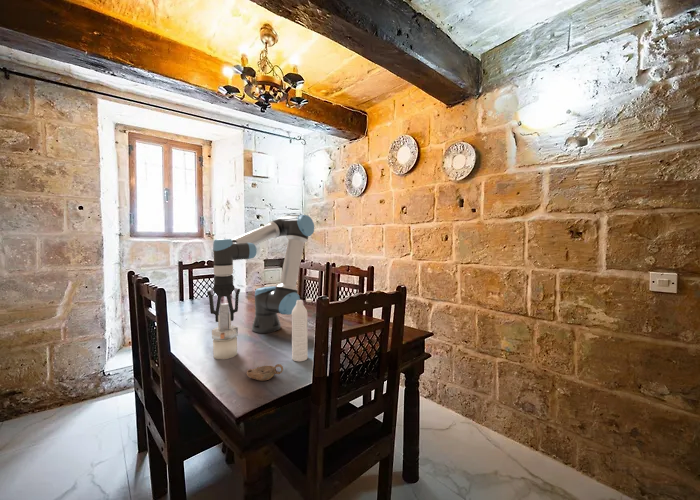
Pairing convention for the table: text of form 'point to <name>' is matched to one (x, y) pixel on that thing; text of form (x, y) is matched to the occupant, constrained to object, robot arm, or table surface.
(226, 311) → the lid
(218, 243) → the robot arm
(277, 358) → the table surface
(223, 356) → the jar
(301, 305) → the water bottle
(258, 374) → the oil lamp
